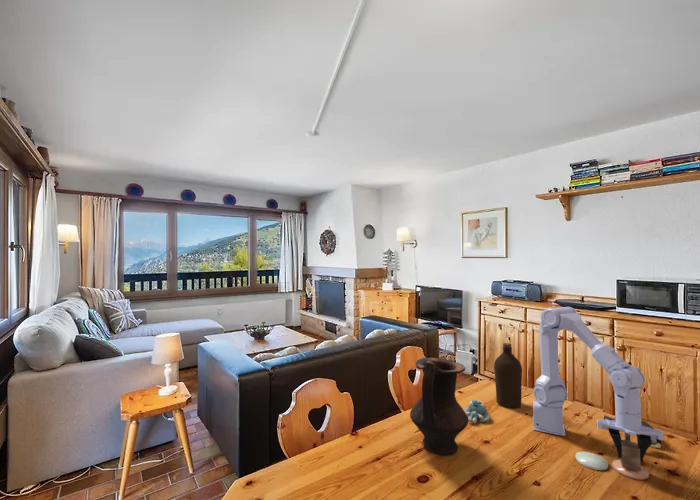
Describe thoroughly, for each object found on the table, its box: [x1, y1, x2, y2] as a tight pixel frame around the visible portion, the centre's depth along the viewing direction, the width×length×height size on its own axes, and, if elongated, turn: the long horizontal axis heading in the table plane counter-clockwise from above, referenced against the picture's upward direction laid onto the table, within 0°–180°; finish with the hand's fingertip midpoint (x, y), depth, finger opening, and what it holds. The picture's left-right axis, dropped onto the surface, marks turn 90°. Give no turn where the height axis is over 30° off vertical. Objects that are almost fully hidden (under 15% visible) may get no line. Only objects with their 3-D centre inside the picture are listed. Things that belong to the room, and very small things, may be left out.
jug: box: [409, 357, 470, 457], centre depth 110 cm, size 21×18×30 cm
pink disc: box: [611, 459, 650, 481], centre depth 97 cm, size 8×8×1 cm
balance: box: [595, 414, 662, 449], centre depth 109 cm, size 16×4×9 cm, turn 60°
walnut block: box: [619, 439, 642, 471], centre depth 97 cm, size 4×4×6 cm
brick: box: [635, 419, 662, 445], centre depth 114 cm, size 11×4×5 cm, turn 163°
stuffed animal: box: [462, 399, 491, 424], centre depth 130 cm, size 11×7×12 cm
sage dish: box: [574, 451, 609, 471], centre depth 101 cm, size 8×8×1 cm
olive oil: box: [493, 342, 523, 410], centre depth 143 cm, size 11×11×25 cm
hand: (629, 458), depth 97 cm, fingers closed on walnut block, 4 cm apart
